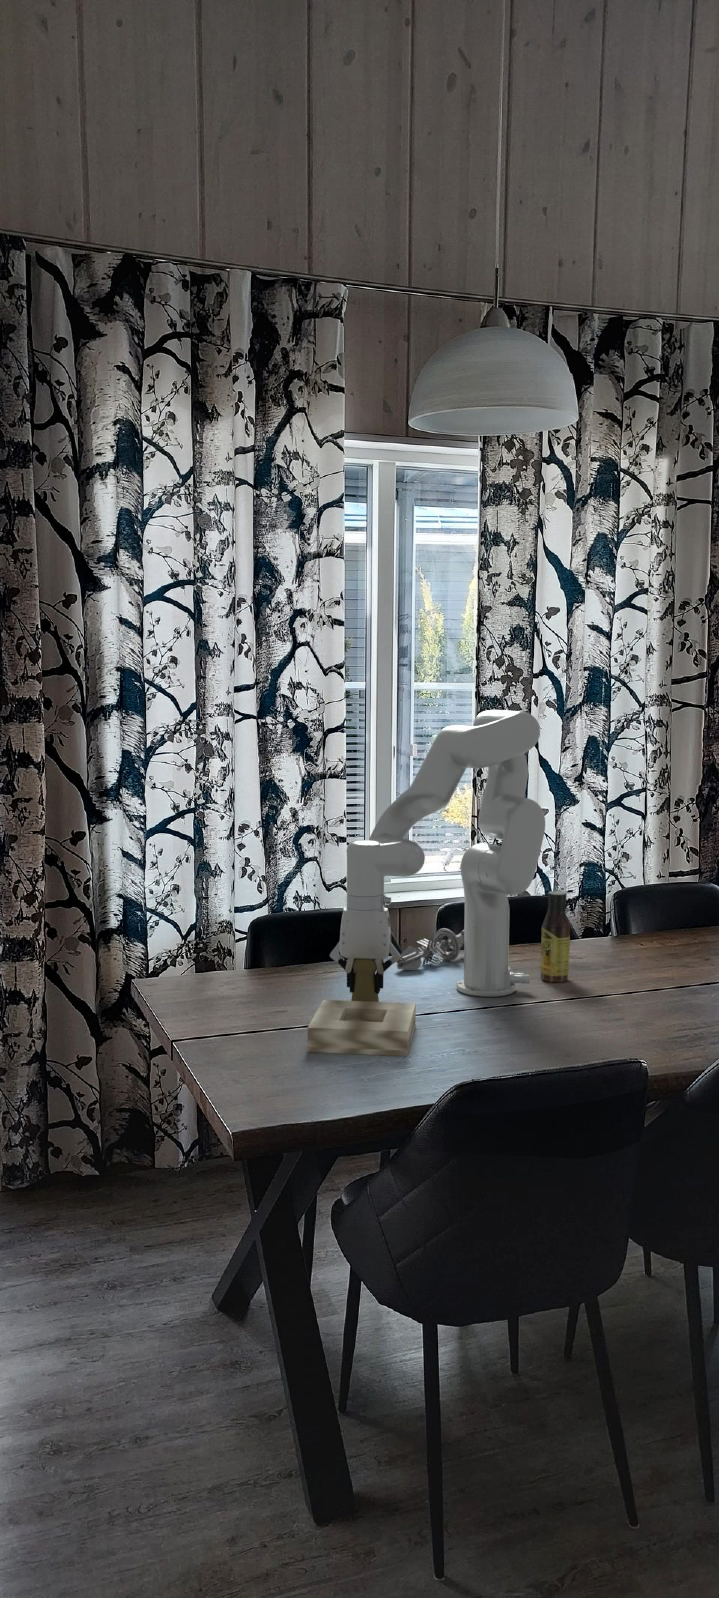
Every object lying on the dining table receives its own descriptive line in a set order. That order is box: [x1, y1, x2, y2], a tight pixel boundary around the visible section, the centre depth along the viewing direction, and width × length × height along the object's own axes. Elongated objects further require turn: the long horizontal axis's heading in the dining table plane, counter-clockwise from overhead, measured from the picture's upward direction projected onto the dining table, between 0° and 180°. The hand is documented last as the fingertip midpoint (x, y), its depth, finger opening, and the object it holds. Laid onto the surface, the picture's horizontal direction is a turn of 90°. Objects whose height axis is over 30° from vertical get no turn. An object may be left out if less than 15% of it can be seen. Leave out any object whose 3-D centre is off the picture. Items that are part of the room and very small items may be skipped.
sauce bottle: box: [539, 890, 571, 983], centre depth 257 cm, size 6×6×20 cm
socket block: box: [307, 999, 417, 1057], centre depth 216 cm, size 18×18×4 cm
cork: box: [350, 959, 380, 1002], centre depth 235 cm, size 6×6×11 cm
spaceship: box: [394, 927, 464, 971], centre depth 275 cm, size 8×35×8 cm
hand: (365, 990), depth 235 cm, fingers closed on cork, 4 cm apart
